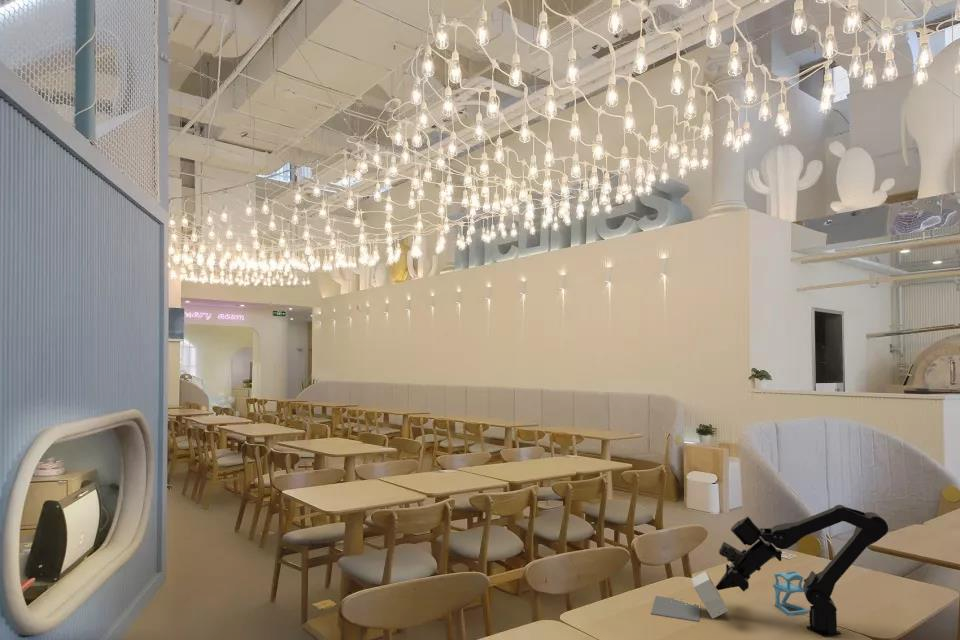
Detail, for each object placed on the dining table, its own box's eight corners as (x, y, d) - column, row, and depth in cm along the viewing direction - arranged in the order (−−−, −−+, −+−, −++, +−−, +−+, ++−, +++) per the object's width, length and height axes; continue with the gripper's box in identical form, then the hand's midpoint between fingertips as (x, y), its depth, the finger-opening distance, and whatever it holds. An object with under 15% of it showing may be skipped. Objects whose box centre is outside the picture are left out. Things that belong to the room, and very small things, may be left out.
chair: (788, 603, 202) (787, 565, 203) (808, 613, 195) (808, 573, 195) (769, 605, 200) (768, 567, 201) (789, 615, 192) (789, 575, 193)
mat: (700, 603, 200) (700, 602, 201) (699, 621, 186) (699, 620, 186) (655, 596, 206) (655, 595, 206) (651, 614, 191) (651, 613, 191)
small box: (729, 611, 187) (710, 579, 189) (712, 619, 188) (693, 587, 190) (724, 601, 195) (705, 570, 197) (708, 609, 196) (690, 578, 197)
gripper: (734, 528, 200) (698, 558, 203) (736, 543, 183) (696, 576, 186) (761, 556, 197) (724, 587, 200) (765, 574, 179) (724, 607, 182)
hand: (716, 588), depth 192 cm, fingers closed
